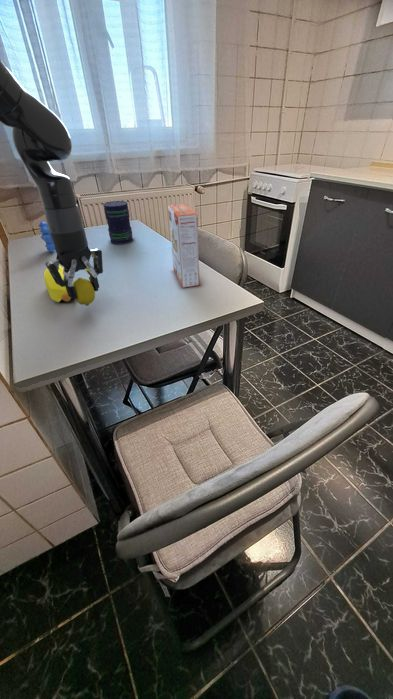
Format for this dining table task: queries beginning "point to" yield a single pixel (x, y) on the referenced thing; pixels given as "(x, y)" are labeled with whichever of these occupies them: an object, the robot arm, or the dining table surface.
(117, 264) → the dining table surface
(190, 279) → the cracker box
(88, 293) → the lemon
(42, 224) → the grapes
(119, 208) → the storage jar
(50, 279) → the yellow faceted capsule
